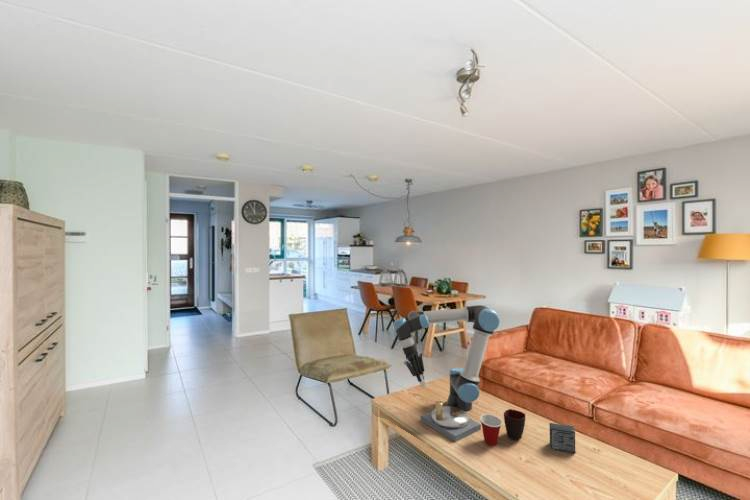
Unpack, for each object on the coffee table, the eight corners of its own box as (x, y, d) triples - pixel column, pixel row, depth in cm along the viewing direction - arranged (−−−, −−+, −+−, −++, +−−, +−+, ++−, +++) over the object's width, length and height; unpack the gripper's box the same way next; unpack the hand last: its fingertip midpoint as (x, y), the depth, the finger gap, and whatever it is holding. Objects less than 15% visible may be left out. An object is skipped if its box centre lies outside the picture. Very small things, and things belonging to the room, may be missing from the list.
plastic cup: (493, 451, 168) (493, 427, 168) (475, 441, 177) (475, 418, 177) (507, 444, 174) (507, 420, 174) (488, 434, 183) (488, 412, 183)
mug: (501, 437, 180) (501, 414, 180) (511, 426, 191) (511, 405, 190) (521, 444, 174) (521, 421, 174) (530, 433, 184) (530, 410, 184)
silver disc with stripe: (459, 409, 205) (459, 389, 204) (474, 426, 185) (474, 405, 185) (426, 412, 201) (426, 392, 201) (438, 430, 182) (438, 408, 181)
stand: (420, 420, 198) (420, 415, 198) (445, 410, 210) (445, 405, 210) (455, 441, 177) (455, 435, 177) (480, 429, 188) (480, 423, 188)
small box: (572, 446, 172) (573, 425, 172) (575, 453, 166) (575, 432, 166) (549, 442, 176) (549, 421, 176) (551, 449, 170) (551, 428, 169)
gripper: (412, 342, 205) (427, 381, 202) (396, 350, 197) (411, 391, 194) (420, 340, 199) (435, 381, 196) (404, 349, 191) (420, 391, 188)
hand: (423, 386), depth 195 cm, fingers closed
